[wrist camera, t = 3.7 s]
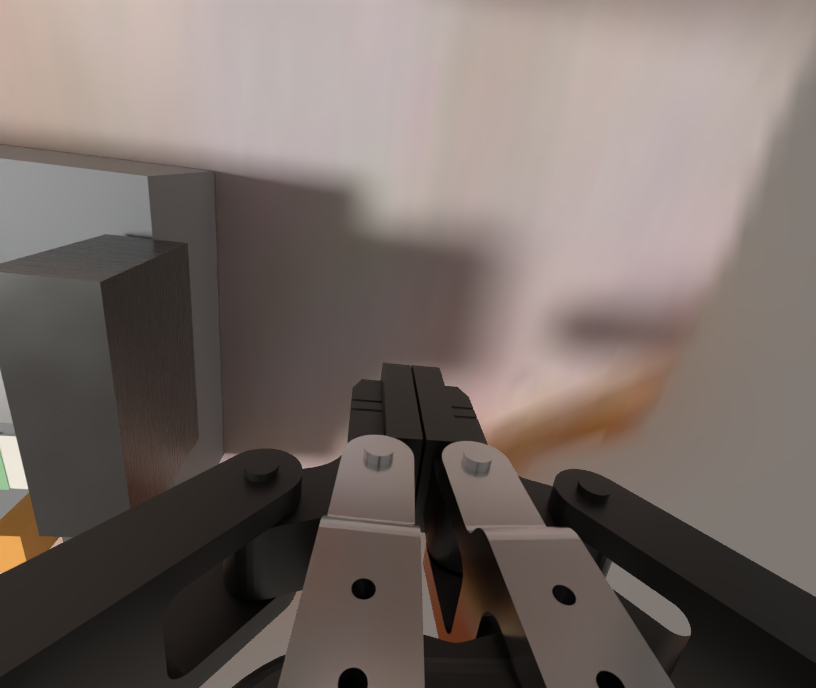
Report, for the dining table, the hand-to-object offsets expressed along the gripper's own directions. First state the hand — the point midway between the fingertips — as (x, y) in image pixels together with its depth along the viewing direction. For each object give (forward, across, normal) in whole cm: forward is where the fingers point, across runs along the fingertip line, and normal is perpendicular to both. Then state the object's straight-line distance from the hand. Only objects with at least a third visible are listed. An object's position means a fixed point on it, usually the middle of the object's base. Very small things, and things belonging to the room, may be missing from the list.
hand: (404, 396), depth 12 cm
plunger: (+1, +11, +1) cm, 12 cm away
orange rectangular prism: (+1, +9, +4) cm, 10 cm away
